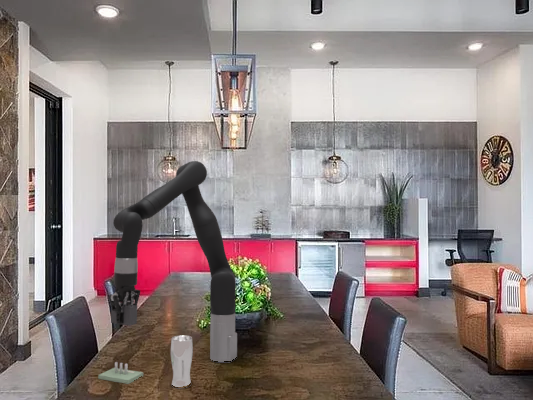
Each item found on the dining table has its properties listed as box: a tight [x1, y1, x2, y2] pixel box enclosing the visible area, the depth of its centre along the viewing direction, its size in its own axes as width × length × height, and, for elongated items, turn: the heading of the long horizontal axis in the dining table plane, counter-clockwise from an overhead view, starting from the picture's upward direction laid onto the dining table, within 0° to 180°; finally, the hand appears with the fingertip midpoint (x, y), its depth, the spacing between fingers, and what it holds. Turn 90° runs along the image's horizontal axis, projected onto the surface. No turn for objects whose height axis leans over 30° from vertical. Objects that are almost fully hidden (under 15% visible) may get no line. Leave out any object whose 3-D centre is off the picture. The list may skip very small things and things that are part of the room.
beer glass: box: [170, 334, 194, 387], centre depth 158 cm, size 7×7×15 cm
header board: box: [97, 361, 144, 385], centre depth 165 cm, size 12×8×5 cm, turn 68°
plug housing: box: [110, 304, 138, 327], centre depth 166 cm, size 8×4×6 cm, turn 67°
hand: (124, 321), depth 166 cm, fingers closed on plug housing, 3 cm apart
